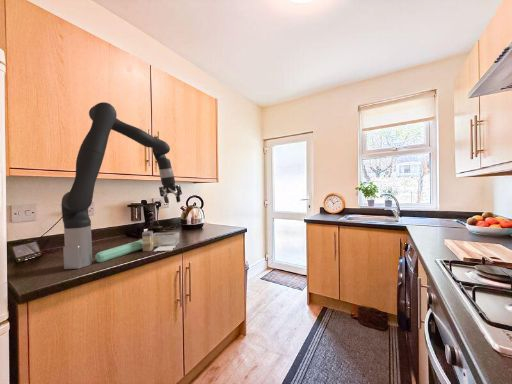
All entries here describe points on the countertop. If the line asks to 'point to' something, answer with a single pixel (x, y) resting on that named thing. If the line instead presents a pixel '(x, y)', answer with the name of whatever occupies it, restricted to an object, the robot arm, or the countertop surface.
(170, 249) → the pad
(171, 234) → the keyway block
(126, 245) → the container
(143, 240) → the key peg
